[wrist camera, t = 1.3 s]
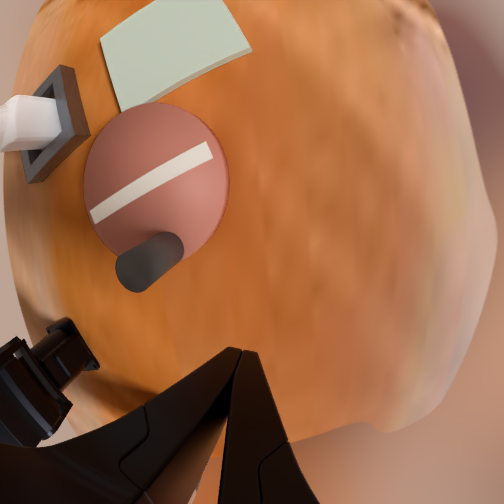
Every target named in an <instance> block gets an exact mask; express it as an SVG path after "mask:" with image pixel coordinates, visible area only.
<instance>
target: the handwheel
mask: <svg viewBox="0 0 504 504" xmlns="http://www.w3.org/2000/svg"><path fill="white" fill-rule="evenodd" d="M229 182H230V181H229V169H228V164H227V160H226V156H225V154H224V151H223V148H222V146H221V144H220V142H219V140H218V138H217V137H216V136H215V134H214V133H213V131H212V130H211V129H210V128H209V127H208V126H207V125H206V124H205V123H204V122H203V121H202V120H201V119H199V118H198V117H197V116H195V115H193V114H191V113H190V112H188V111H186V110H183V109H181V108H179V107H176V106H173V105H170V104H164V103H146V104H140V105H137V106H134V107H131V108H129V109H127V110H125V111H123V112H122V113H120V114H119V115H117V116H116V117H115V118H113V119H112V120H111V121H110V122H109V123H108V124H107V125H106V126H105V127H104V128H103V129H102V131H101V132H100V134H99V135H98V136H97V138H96V140H95V142H94V143H93V145H92V148H91V150H90V152H89V155H88V158H87V162H86V166H85V171H84V180H83V192H84V200H85V206H86V210H87V213H88V216H89V219H90V222H91V224H92V226H93V228H94V230H95V231H96V233H97V235H98V236H99V238H100V239H101V240H102V242H103V243H104V244H105V245H106V246H107V247H108V248H109V249H110V250H111V251H112V252H113V253H114V254H116V255H117V256H118V258H117V261H116V265H115V269H116V274H117V277H118V279H119V281H120V282H121V284H122V285H123V286H124V287H125V288H126V289H128V290H130V291H132V292H136V293H139V292H143V291H144V290H146V289H147V288H148V287H149V286H151V285H152V284H153V283H154V282H155V281H156V280H158V279H159V278H160V277H161V276H163V275H164V274H165V273H166V272H167V271H169V270H170V269H171V268H172V267H173V266H175V265H176V264H177V263H178V262H180V261H183V260H185V259H186V258H188V257H189V256H190V255H192V254H193V253H194V252H196V251H197V250H198V249H199V248H200V247H202V246H203V245H204V244H205V243H206V242H207V241H208V240H209V238H210V237H211V236H212V235H213V234H214V232H215V231H216V229H217V227H218V226H219V224H220V222H221V220H222V217H223V215H224V212H225V209H226V206H227V201H228V196H229Z"/></svg>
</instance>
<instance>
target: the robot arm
mask: <svg viewBox="0 0 504 504" xmlns="http://www.w3.org/2000/svg"><path fill="white" fill-rule="evenodd" d="M46 330H47V332H48V334H49V335H47V336H46V337H45V338H44V339H42V340H41V341H40V342H39V343H37V344H36V345H35V346H34V347H33V348H31V349H30V348H29V347H28V345H27V344H26V341H25V339H23V340H21V339H19V338H18V337H17V336H16V337H15V338H13V339H12V340H11V341H9V342H8V343H6V344H5V345H4V346H2V347H1V348H0V504H188V502H189V500H190V498H191V496H192V494H193V492H194V490H195V488H196V486H197V484H198V482H199V480H200V478H201V476H202V474H203V471H204V469H205V467H206V465H207V463H208V461H209V459H210V457H211V454H212V452H213V450H214V448H215V446H216V443H217V441H218V439H219V437H220V434H221V432H222V430H223V428H224V425H225V423H226V420H227V427H226V435H225V444H224V452H223V461H222V470H221V479H220V486H219V496H218V504H320V503H319V501H318V500H317V498H316V496H315V495H314V493H313V491H312V490H311V488H310V486H309V485H308V483H307V481H306V479H305V477H304V475H303V473H302V471H301V470H300V467H299V465H298V463H297V460H296V458H295V456H294V453H293V450H292V448H291V446H290V442H288V437H287V435H286V432H285V429H284V426H283V424H282V421H281V418H280V415H279V413H278V410H277V407H276V404H275V401H274V399H273V396H272V393H271V390H270V387H269V384H268V382H267V379H266V376H265V373H264V370H263V367H262V364H261V361H260V358H259V355H258V353H257V352H254V351H249V350H243V351H242V350H241V349H239V348H234V347H227V348H225V349H224V350H223V351H221V352H220V353H219V354H217V355H216V356H214V357H213V358H212V359H210V360H209V361H207V362H206V363H204V364H203V365H202V366H200V367H199V368H197V369H196V370H194V371H193V372H192V373H190V374H189V375H187V376H186V377H184V378H183V379H181V380H180V381H178V382H177V383H175V384H174V385H172V386H171V387H169V388H168V389H166V390H165V391H163V392H162V393H160V394H159V395H157V396H155V397H154V398H152V399H151V400H149V401H148V402H146V403H145V404H144V406H143V405H141V406H139V407H138V408H136V409H135V410H133V411H131V412H130V413H128V414H126V415H124V416H122V417H121V418H119V419H117V420H115V421H113V422H111V423H109V424H107V425H104V426H102V427H100V428H98V429H95V430H93V431H90V432H88V433H85V434H83V435H80V436H78V437H75V438H72V439H70V440H67V441H64V442H61V443H58V444H55V445H52V446H47V447H37V445H38V444H39V442H40V441H41V440H46V439H48V438H49V437H51V436H52V435H53V434H54V433H55V432H56V431H57V430H58V428H59V427H60V425H61V423H62V422H63V420H64V419H65V417H66V415H67V414H68V412H69V411H70V409H71V407H72V406H73V404H72V403H71V401H69V400H68V399H67V398H66V397H65V395H64V394H63V393H62V392H63V391H64V390H65V389H66V387H67V386H68V385H69V384H70V383H71V382H72V381H73V380H74V379H75V378H76V377H77V376H78V375H79V374H80V373H81V372H82V371H89V370H98V369H99V368H100V365H99V363H98V362H97V361H96V359H95V358H94V356H93V355H92V353H91V351H90V350H89V348H88V347H87V345H86V344H85V342H84V340H83V339H82V337H81V336H80V334H79V332H78V331H77V329H76V327H75V325H74V324H73V322H72V321H71V320H66V321H63V322H60V323H57V324H55V325H52V326H49V327H48V328H46ZM13 353H14V354H15V355H16V357H17V358H18V359H17V358H16V357H14V355H13ZM227 418H228V419H227Z"/></svg>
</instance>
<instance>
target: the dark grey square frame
mask: <svg viewBox="0 0 504 504" xmlns="http://www.w3.org/2000/svg"><path fill="white" fill-rule="evenodd" d="M32 96H36V97H44V98H51V99H55V100H56V105H57V110H58V115H59V120H60V124H61V128H62V131H61V132H60V133H59V135H58V136H57V137H56V138H55V139H54V140H53V141H52V142H51V143H50V144H49V145H48V146H47V147H46V148H45V150H44V151H43V152H42V149H35V150H20V152H21V157H22V162H23V166H24V171H25V175H26V179H27V183H28V184H32V183H38V182H43V181H44V180H45V178H46V177H47V176H48V175H49V174H50V173H51V172H52V171H53V170H54V169H55V168H56V167H57V166H58V165H59V164H60V163H61V162H62V161H63V160H64V159H65V158H66V157H67V156H68V155H69V154H71V153H72V152H73V151H74V150H75V149H76V148H77V147H78V146H79V145H80V144H82V143H83V142H84V141H85V140H86V139H87V138H88V137H90V136H91V134H90V131H89V128H88V124H87V121H86V117H85V113H84V110H83V106H82V102H81V98H80V94H79V89H78V85H77V80H76V76H75V71H74V68H71V67H67V66H64V65H59V66H58V67H57V68H56V69H55V70H54V71H53V72H52V73H51V74H50V75H49V76H48V78H47V79H46V80H45V81H44V82H43V83H42V84H41V85H40V87H39V88H38V89H37V90H36V91H35V93H34V94H33V95H32Z"/></svg>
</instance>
